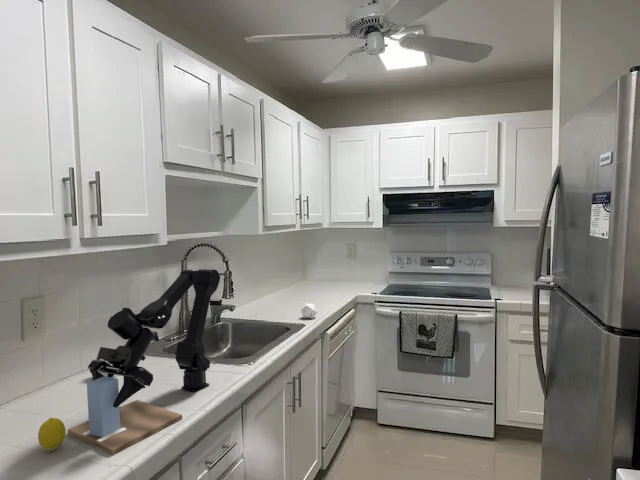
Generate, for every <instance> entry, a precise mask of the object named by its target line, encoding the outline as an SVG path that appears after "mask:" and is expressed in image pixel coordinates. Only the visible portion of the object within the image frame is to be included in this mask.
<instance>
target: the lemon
mask: <svg viewBox="0 0 640 480" xmlns="http://www.w3.org/2000/svg"><path fill="white" fill-rule="evenodd" d="M66 431H67V430H66V427H65V423H64V422H63V420H61V419H60V418H56V417H49V418H48V419H47V420H45V421H44V422H43V423H42V424H41V425H40V427H39V430H38V433H37V440H38V443H39V445H40V447H41V448H42V449H44V450H50V451H51V452H53V451H55V450H56V449H57V448H58V447H59V446H61V445H62V443H63V442H64V440H65V438H66Z"/></svg>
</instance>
